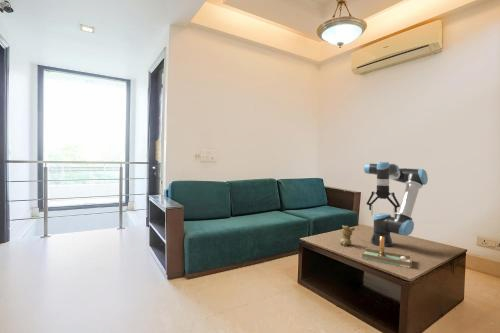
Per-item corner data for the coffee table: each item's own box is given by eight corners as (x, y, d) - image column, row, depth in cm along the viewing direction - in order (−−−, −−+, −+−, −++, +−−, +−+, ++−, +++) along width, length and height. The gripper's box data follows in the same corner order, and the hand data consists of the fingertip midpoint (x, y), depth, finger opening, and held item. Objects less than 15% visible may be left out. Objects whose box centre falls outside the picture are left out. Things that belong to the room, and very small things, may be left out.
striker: (378, 254, 180) (379, 235, 179) (386, 255, 177) (387, 236, 177) (377, 257, 175) (378, 237, 174) (385, 258, 172) (386, 238, 172)
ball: (405, 261, 170) (399, 259, 172) (407, 256, 170) (400, 254, 172) (405, 263, 167) (399, 261, 169) (406, 258, 167) (400, 256, 169)
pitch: (365, 252, 188) (365, 247, 187) (412, 261, 172) (412, 255, 172) (362, 258, 177) (362, 252, 176) (411, 268, 161) (411, 262, 161)
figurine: (350, 242, 208) (351, 223, 207) (355, 246, 200) (355, 226, 199) (338, 242, 208) (338, 223, 207) (342, 246, 199) (342, 226, 199)
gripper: (362, 184, 183) (362, 215, 184) (404, 186, 170) (403, 219, 171) (363, 183, 189) (363, 212, 190) (404, 185, 176) (404, 216, 177)
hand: (382, 216), depth 181 cm, fingers open, 13 cm apart
